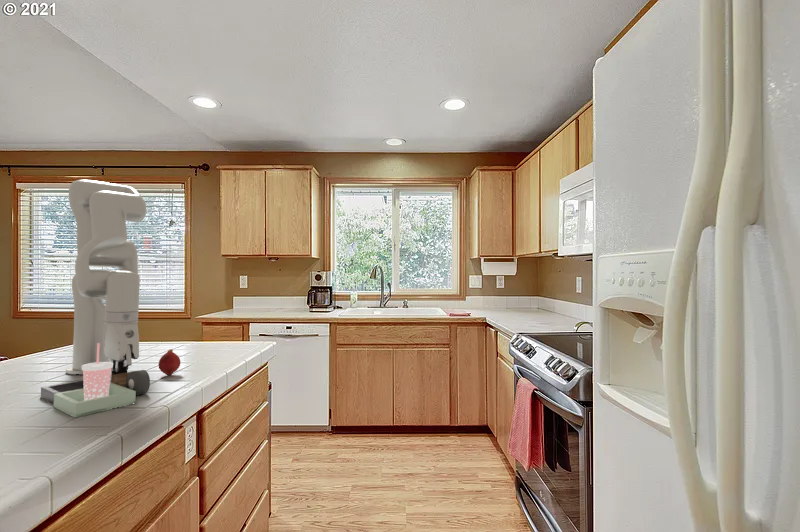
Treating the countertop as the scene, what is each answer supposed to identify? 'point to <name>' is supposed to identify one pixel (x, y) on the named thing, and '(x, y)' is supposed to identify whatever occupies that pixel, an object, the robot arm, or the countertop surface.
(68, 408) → the tray
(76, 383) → the socket ring
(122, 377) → the block
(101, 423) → the countertop surface
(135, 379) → the caster wheel
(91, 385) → the beverage cup
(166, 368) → the onion
